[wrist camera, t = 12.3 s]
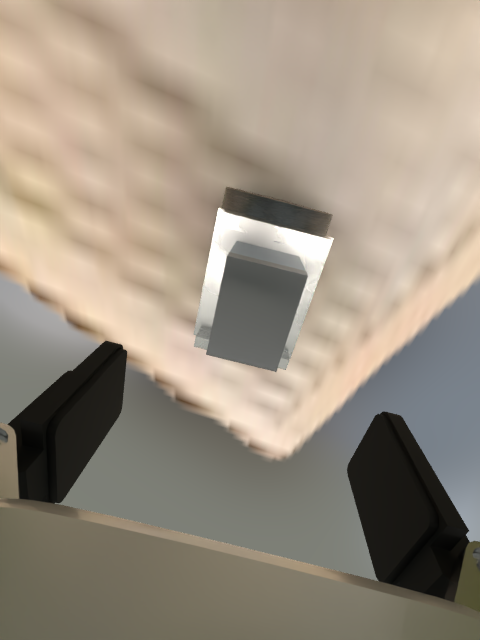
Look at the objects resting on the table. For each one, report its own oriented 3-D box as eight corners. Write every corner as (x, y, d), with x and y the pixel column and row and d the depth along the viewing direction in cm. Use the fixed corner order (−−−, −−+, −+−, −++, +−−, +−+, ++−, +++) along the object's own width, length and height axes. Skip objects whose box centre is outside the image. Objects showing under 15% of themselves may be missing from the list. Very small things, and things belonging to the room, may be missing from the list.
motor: (232, 187, 32) (211, 184, 20) (322, 211, 32) (354, 222, 20) (208, 305, 37) (179, 358, 25) (284, 325, 37) (291, 387, 26)
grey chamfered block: (236, 240, 23) (226, 255, 18) (298, 256, 23) (308, 275, 18) (219, 320, 26) (206, 354, 20) (274, 334, 26) (276, 371, 20)
